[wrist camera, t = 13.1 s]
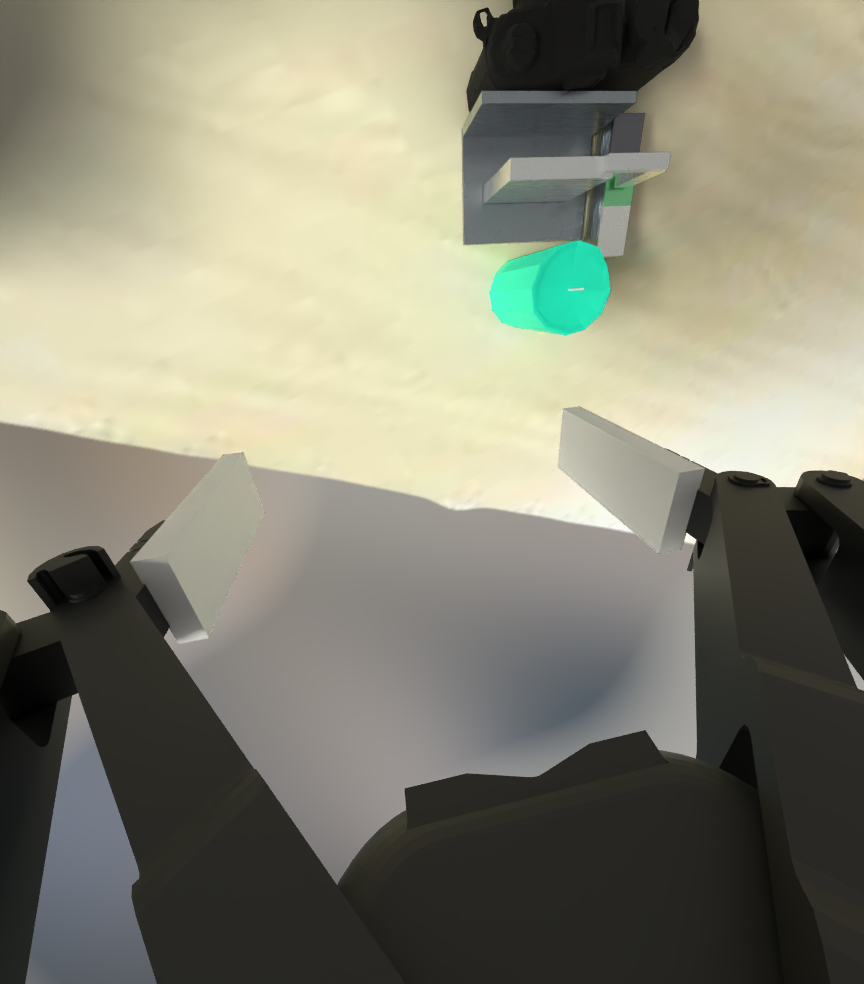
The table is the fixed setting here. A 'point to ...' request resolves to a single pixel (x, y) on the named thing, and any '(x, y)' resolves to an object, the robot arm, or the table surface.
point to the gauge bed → (547, 133)
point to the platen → (569, 176)
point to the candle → (552, 289)
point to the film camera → (580, 44)
